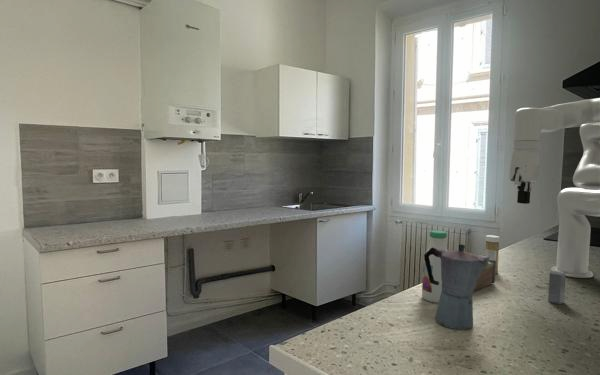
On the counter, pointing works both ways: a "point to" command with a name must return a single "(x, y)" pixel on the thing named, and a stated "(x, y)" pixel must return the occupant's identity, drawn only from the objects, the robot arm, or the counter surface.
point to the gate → (486, 275)
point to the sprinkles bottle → (492, 249)
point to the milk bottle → (434, 268)
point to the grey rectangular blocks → (552, 285)
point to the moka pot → (456, 286)
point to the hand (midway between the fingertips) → (523, 203)
